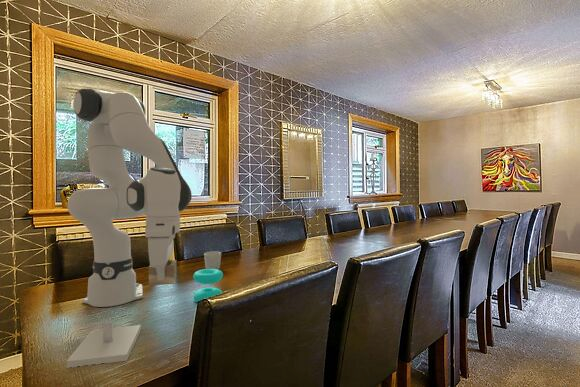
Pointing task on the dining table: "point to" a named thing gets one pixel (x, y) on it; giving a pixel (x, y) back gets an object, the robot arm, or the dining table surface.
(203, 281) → the donuts
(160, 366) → the dining table surface
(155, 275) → the collar
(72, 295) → the dining table surface
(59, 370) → the dining table surface
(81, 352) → the post board
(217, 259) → the cup
